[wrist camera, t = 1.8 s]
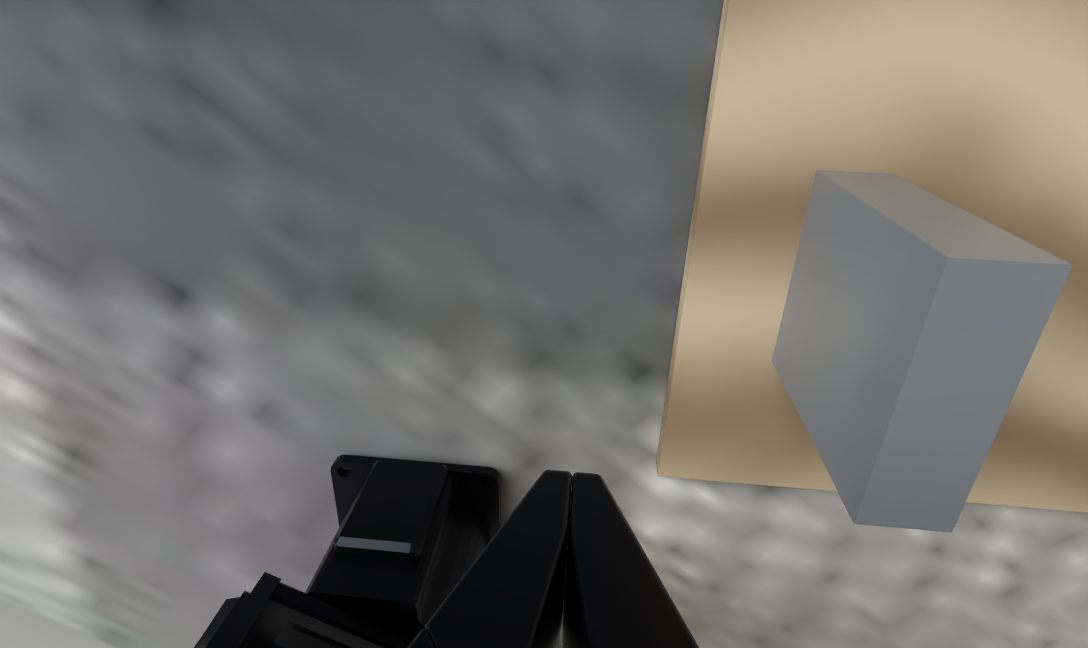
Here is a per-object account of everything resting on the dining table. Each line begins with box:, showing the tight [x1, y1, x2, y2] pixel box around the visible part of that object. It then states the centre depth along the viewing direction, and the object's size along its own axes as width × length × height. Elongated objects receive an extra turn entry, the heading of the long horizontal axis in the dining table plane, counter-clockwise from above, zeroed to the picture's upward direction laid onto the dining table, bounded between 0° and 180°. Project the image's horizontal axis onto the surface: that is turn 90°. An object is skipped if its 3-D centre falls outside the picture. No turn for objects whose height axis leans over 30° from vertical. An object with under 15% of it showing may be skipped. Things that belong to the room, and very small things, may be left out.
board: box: [656, 0, 1088, 513], centre depth 17 cm, size 18×16×1 cm
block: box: [772, 170, 1072, 532], centre depth 15 cm, size 6×2×7 cm, turn 178°
